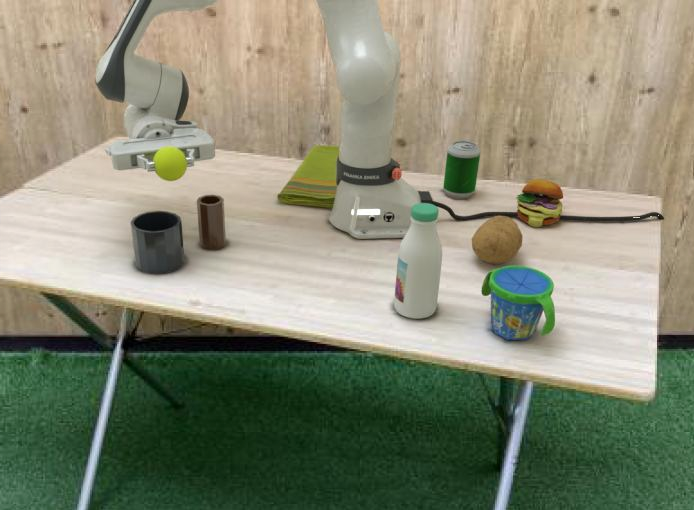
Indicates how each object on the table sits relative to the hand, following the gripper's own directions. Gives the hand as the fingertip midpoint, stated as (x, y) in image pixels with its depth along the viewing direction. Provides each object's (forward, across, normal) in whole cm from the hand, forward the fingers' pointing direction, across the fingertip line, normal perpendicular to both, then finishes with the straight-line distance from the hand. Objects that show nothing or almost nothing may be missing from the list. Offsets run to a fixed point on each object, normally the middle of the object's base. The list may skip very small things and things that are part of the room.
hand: (171, 165), depth 148 cm
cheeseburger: (+9, +80, +20) cm, 83 cm away
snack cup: (+46, +48, +20) cm, 70 cm away
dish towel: (-28, +44, +20) cm, 56 cm away
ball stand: (-3, +8, +20) cm, 21 cm away
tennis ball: (-1, 0, 0) cm, 1 cm away
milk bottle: (+34, +36, +20) cm, 53 cm away
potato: (+22, +60, +20) cm, 67 cm away
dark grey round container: (+1, -4, +20) cm, 20 cm away
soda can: (-9, +70, +20) cm, 73 cm away
